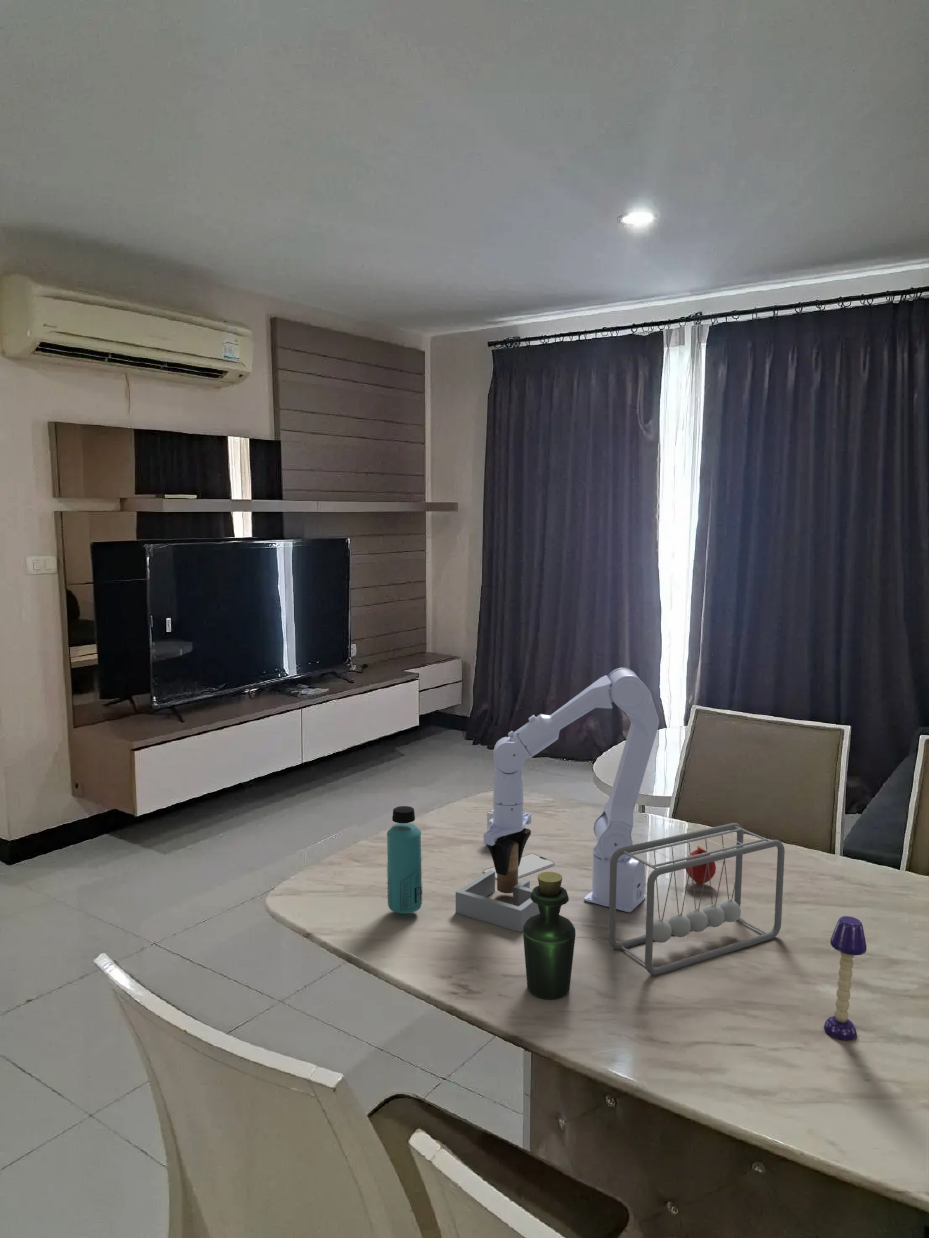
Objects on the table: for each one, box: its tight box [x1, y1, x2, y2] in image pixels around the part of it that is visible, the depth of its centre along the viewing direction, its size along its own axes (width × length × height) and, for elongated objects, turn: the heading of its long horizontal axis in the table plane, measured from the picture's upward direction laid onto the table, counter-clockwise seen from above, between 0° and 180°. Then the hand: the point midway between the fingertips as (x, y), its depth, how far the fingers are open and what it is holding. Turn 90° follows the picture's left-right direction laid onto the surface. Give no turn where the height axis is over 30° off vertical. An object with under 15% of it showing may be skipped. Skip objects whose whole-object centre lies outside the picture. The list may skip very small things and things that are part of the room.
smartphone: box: [482, 853, 556, 881], centre depth 178 cm, size 7×1×15 cm
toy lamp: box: [823, 915, 868, 1041], centre depth 120 cm, size 5×5×17 cm
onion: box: [685, 844, 717, 886], centre depth 170 cm, size 6×6×8 cm
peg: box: [496, 840, 519, 894], centre depth 164 cm, size 4×4×9 cm
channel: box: [455, 870, 540, 933], centre depth 159 cm, size 14×12×4 cm
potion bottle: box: [522, 871, 576, 1000], centre depth 131 cm, size 8×8×18 cm
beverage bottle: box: [386, 805, 424, 914], centre depth 156 cm, size 6×7×20 cm
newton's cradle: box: [607, 822, 786, 976], centre depth 146 cm, size 30×10×18 cm, turn 118°
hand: (507, 869), depth 164 cm, fingers closed on peg, 4 cm apart
